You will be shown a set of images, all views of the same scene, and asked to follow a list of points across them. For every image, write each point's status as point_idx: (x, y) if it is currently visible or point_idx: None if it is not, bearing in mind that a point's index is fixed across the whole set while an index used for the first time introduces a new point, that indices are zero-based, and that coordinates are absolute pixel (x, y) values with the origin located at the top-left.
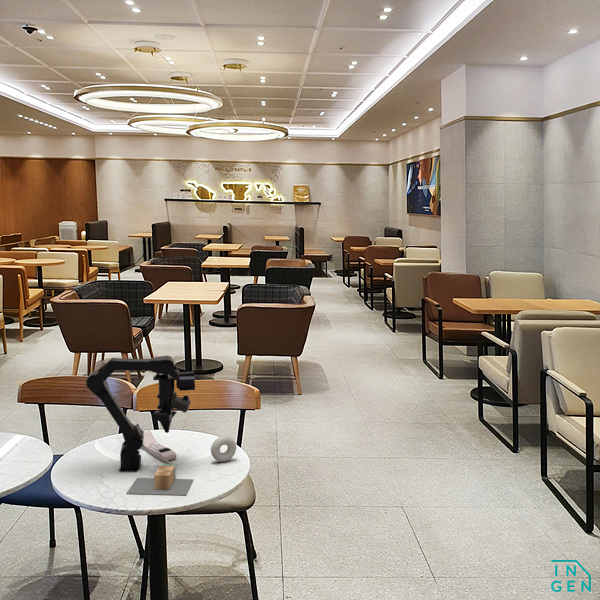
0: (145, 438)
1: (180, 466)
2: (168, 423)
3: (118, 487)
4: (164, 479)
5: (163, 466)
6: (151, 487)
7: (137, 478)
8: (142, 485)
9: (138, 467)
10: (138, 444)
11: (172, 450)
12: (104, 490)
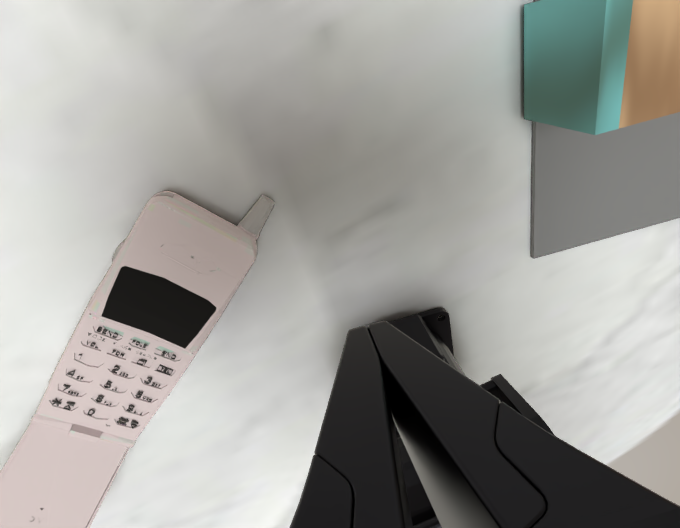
0: (58, 503)
1: (280, 85)
2: (545, 446)
3: (638, 279)
4: None
5: (650, 87)
6: None
7: (543, 251)
8: (640, 174)
9: (422, 318)
10: (547, 428)
11: (127, 254)
12: (665, 314)
